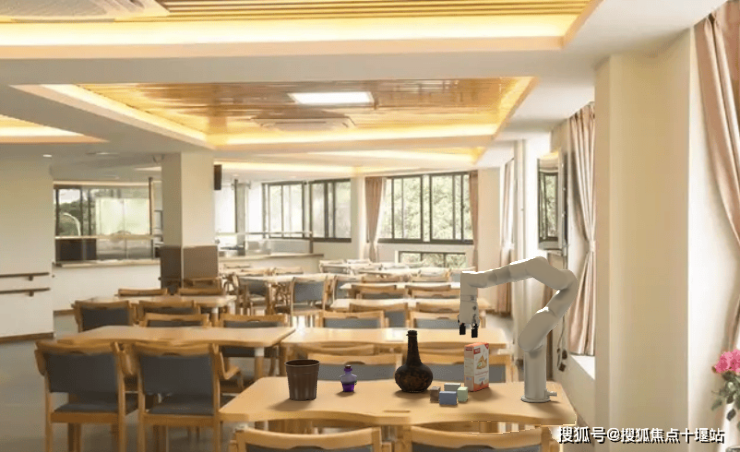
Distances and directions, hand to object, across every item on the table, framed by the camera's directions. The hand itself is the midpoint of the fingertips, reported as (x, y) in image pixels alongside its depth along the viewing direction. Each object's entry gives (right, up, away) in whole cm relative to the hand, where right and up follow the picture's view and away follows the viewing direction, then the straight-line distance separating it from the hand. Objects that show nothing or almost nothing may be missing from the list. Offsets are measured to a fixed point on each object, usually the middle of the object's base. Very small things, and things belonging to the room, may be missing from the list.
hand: (468, 336), depth 377 cm
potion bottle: (-55, -27, +12) cm, 62 cm away
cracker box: (+5, -26, +12) cm, 29 cm away
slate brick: (-7, -26, 0) cm, 27 cm away
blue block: (-11, -27, -18) cm, 34 cm away
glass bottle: (-24, -27, +11) cm, 37 cm away
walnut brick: (-16, -27, -8) cm, 32 cm away
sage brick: (-4, -27, -10) cm, 29 cm away
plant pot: (-75, -28, -1) cm, 80 cm away
